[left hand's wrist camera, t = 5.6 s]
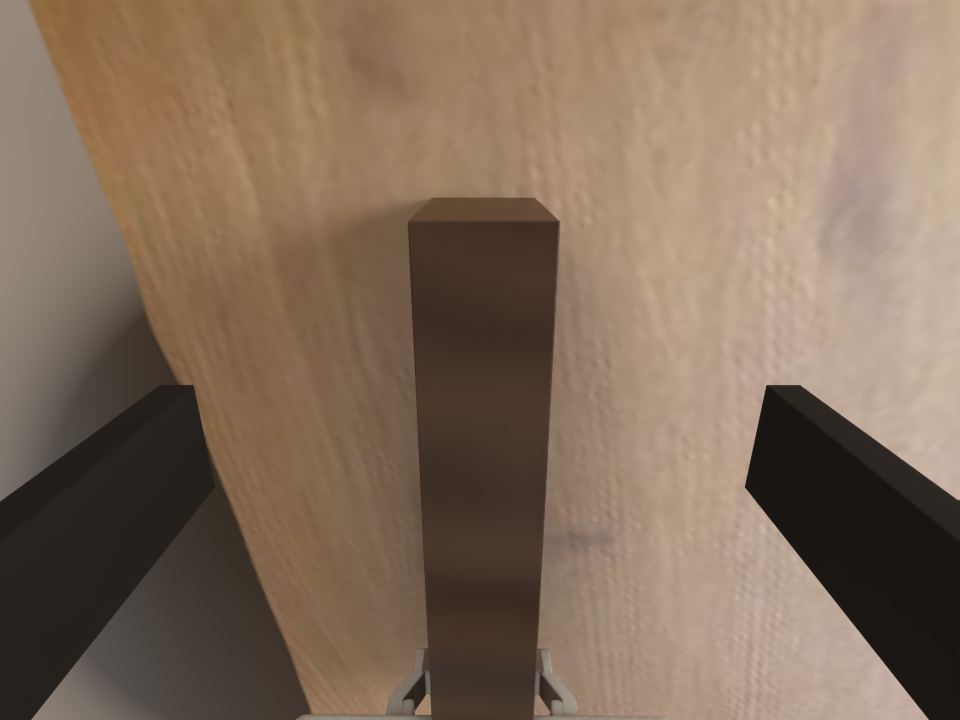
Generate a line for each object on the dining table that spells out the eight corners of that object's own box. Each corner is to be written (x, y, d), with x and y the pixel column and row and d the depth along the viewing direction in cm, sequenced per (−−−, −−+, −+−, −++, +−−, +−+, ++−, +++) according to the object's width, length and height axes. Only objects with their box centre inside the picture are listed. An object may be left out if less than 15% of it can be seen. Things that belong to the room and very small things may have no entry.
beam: (432, 197, 26) (407, 220, 17) (535, 197, 26) (560, 220, 17) (446, 651, 37) (435, 798, 28) (518, 651, 37) (529, 799, 28)
